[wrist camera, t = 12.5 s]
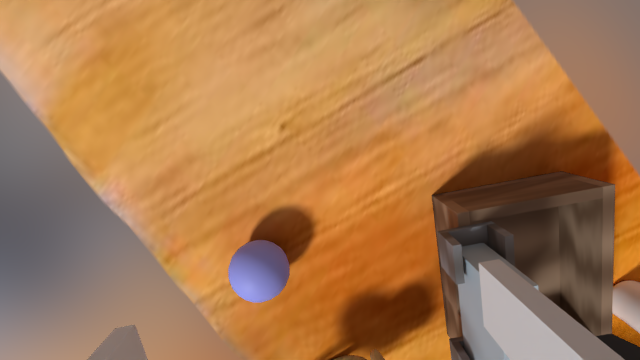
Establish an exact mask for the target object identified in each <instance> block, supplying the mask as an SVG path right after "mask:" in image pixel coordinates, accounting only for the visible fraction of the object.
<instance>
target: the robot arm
mask: <svg viewBox="0 0 640 360" xmlns="http://www.w3.org/2000/svg"><path fill="white" fill-rule="evenodd" d="M479 274H480V286H481V298H482V310H483V322H484V327H485V328H486V330H487V331H488V332H489V334H490V335H491V336H492V337H493V339H494V340H495V341H496V342H497V344H498V345H499V346H500V347H501V349H502V350H503V351H504V353H505V354H506V355H507V356H508V358H509V359H510V360H640V348H639V347H638V346H636V345H634V344H632V343H630V342H628V341H626V340H624V339H621V338H619V337H617V336H615V335H613V334H605V335H599V336H595V335H593V334H592V333H591V332H590V331H588V330H587V329H586V328H585V327H583V326H582V325H581V324H580V323H578V322H577V321H576V320H575V319H573V318H572V317H571V316H570V315H568V314H567V313H566V312H565V311H563V310H562V309H561V308H560V307H558V306H557V305H556V304H555V303H553V302H552V301H551V300H550V299H548V298H547V297H546V296H545V295H543V294H542V293H541V292H540V291H538V290H537V289H536V288H535V287H533V286H532V285H531V284H530V283H528V282H527V281H526V280H525V279H523V278H522V277H521V276H520V275H518V274H517V273H516V272H515V271H513V270H512V269H511V268H510V267H508V266H507V265H506V264H505V263H503V262H502V261H501V260H500V259H496V260H491V261H485V262H480V263H479ZM87 360H148V359H147V357H146V354H145V351H144V348H143V345H142V343H141V340H140V337H139V334H138V332H137V329H136V326H135V325H131V326H126V327H120V328H115V329H114V330H113V331H112V333H111V334H110V335H109V336H108V337H107V338H106V339H105V340H104V341H103V343H102V344H101V345H100V346H99V347H98V348H97V349H96V350H95V352H94V353H93V354H92V355H91V356H90V357H89V358H88V359H87Z"/></svg>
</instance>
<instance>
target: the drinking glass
mask: <svg viewBox="0 0 640 360" xmlns="http://www.w3.org/2000/svg"><path fill="white" fill-rule="evenodd" d="M612 313H613V314H614V315H615V316H617V317H618V318H620V319H621V320H623V321H624V322H625V323H627V324H628V325H629V326H631V327H632V328H633V329H634V330H636V331H637V332H638V333H640V282H637V281H632V280H627V281H622V282H620V283H617V284H616V285H614V286H613V303H612Z"/></svg>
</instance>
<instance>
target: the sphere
mask: <svg viewBox="0 0 640 360" xmlns="http://www.w3.org/2000/svg"><path fill="white" fill-rule="evenodd" d="M288 278H289V262H288V259H287V256H286V254H285V253H284V251H283V250H282V249H281V248H280V247H279V246H278V245H276V244H275V243H273V242H270V241H267V240H255V241H251V242H248V243H246V244H245V245H243V246H242V247H240V248H239V249H238V250H237V252H236V253H235V254H234V256H233V257H232V259H231V262H230V265H229V281H230V283H231V286H232V288H233V290H234V291H235V292H236V293H237V294H238V295H239V296H240V297H242V298H243V299H245V300H247V301H251V302H264V301H268V300H271V299H272V298H274V297H275V296H277V295H278V294H279V293H280V292H281V291H282V290H283V288H284V287H285V286H286V283H287V280H288Z"/></svg>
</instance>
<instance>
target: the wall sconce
mask: <svg viewBox="0 0 640 360" xmlns="http://www.w3.org/2000/svg"><path fill="white" fill-rule="evenodd" d="M370 357H371V360H385V359H384V358H383V356H382V355H381V354H380V352H379V351H378V350H377V349H374V350H372V351H371V354H370ZM333 360H367V359H365V358H363V357H360V356H355V355H347V356H342V357H338V358H336V359H333Z"/></svg>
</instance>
